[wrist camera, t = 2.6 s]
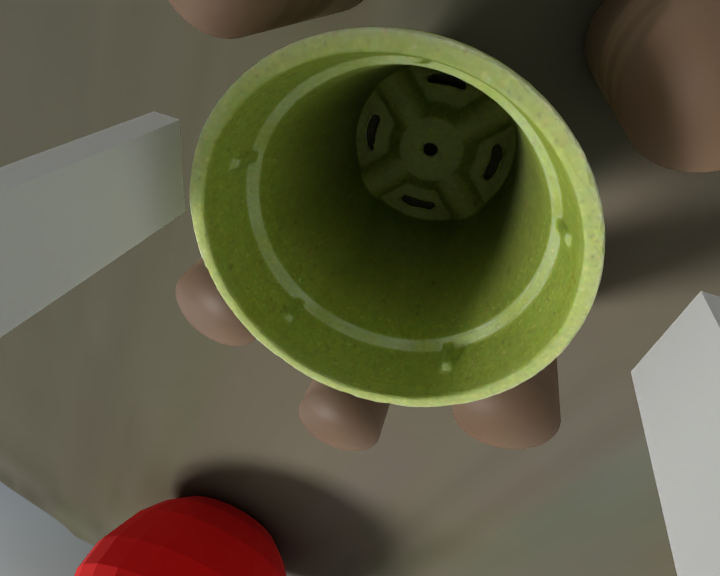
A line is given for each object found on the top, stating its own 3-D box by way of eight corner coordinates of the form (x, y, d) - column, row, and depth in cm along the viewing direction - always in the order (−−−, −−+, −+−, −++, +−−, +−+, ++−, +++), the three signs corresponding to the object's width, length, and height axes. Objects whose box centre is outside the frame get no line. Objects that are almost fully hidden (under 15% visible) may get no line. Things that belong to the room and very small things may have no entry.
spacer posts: (150, 59, 18) (-10, 100, 13) (606, -415, 9) (714, -946, 4) (370, 359, 24) (324, 472, 19) (773, 248, 15) (904, 402, 10)
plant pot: (624, 23, 13) (721, 85, 7) (519, 278, 19) (514, 449, 12) (327, -24, 15) (159, -13, 8) (313, 224, 21) (208, 351, 14)
